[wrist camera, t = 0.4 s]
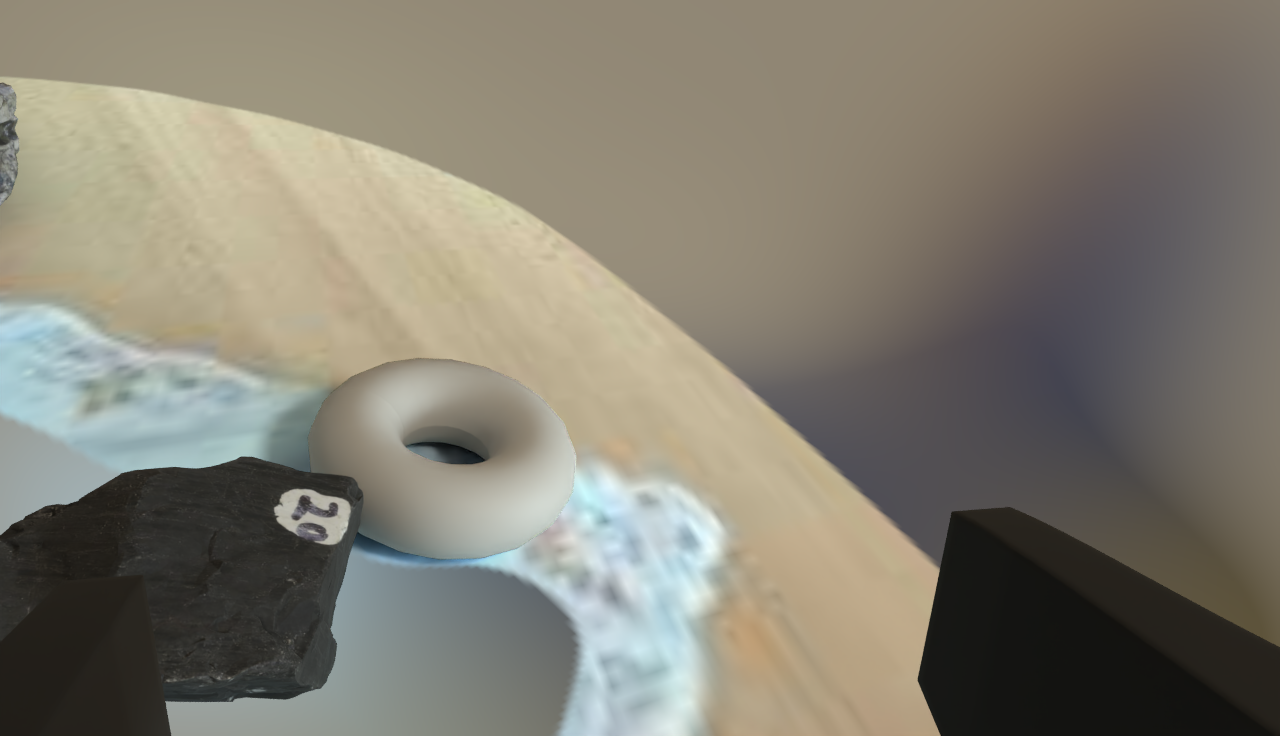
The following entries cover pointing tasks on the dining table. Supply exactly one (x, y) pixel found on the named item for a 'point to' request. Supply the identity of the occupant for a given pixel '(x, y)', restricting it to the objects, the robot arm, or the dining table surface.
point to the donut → (439, 492)
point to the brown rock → (7, 141)
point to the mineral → (205, 569)
